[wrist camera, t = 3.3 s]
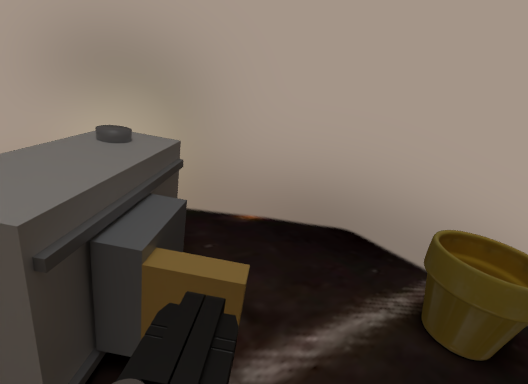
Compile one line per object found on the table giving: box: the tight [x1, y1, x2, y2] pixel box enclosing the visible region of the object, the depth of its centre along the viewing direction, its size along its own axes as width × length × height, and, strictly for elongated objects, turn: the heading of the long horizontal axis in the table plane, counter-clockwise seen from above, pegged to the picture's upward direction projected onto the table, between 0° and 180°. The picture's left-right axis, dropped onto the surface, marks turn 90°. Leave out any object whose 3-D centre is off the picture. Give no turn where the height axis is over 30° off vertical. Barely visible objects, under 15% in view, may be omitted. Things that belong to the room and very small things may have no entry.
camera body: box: [0, 125, 183, 384], centre depth 26 cm, size 9×23×15 cm, turn 175°
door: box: [90, 193, 250, 357], centre depth 23 cm, size 10×8×9 cm
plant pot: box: [422, 230, 528, 361], centre depth 29 cm, size 10×10×10 cm
